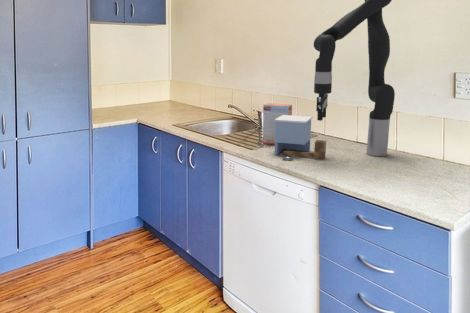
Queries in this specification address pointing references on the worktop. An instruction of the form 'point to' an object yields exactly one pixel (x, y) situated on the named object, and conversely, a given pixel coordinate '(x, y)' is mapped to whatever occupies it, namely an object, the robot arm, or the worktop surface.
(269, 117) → the cracker box
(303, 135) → the cabinet
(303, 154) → the wooden mallet
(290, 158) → the grey metal dome
